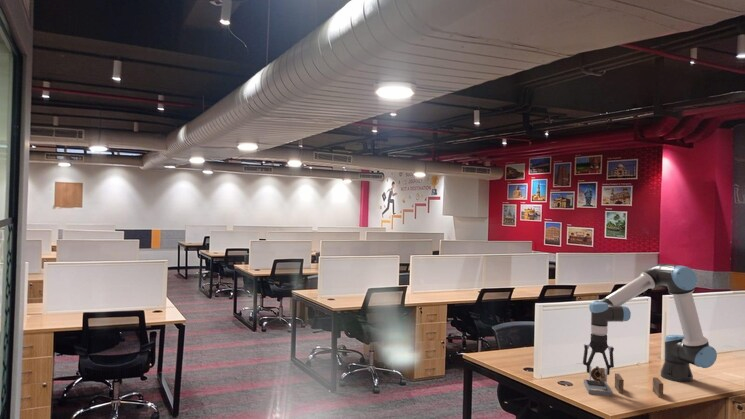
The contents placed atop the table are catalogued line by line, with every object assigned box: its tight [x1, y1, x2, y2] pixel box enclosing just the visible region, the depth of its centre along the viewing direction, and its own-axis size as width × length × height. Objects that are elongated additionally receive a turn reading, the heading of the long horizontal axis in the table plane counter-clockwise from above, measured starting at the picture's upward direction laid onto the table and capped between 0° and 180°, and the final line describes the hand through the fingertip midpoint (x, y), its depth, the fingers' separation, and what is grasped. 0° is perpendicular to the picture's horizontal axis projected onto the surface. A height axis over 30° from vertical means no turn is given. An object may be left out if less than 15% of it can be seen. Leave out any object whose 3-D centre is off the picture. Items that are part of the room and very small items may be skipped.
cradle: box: [614, 373, 664, 399], centre depth 252 cm, size 19×10×7 cm, turn 75°
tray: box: [583, 378, 614, 397], centre depth 254 cm, size 11×17×2 cm, turn 165°
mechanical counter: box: [591, 366, 606, 385], centre depth 254 cm, size 7×13×10 cm, turn 169°
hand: (597, 380), depth 254 cm, fingers closed on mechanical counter, 6 cm apart
